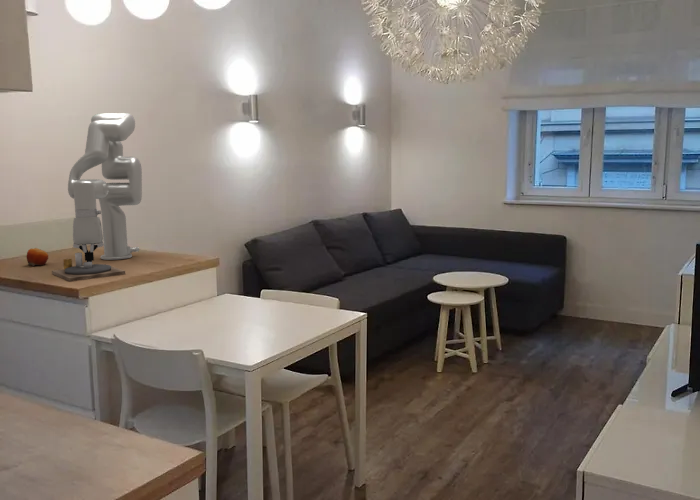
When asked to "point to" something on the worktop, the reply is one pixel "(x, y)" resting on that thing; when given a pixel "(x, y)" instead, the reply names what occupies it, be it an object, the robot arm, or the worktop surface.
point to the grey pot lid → (86, 267)
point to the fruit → (36, 257)
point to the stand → (73, 277)
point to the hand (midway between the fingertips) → (89, 262)
